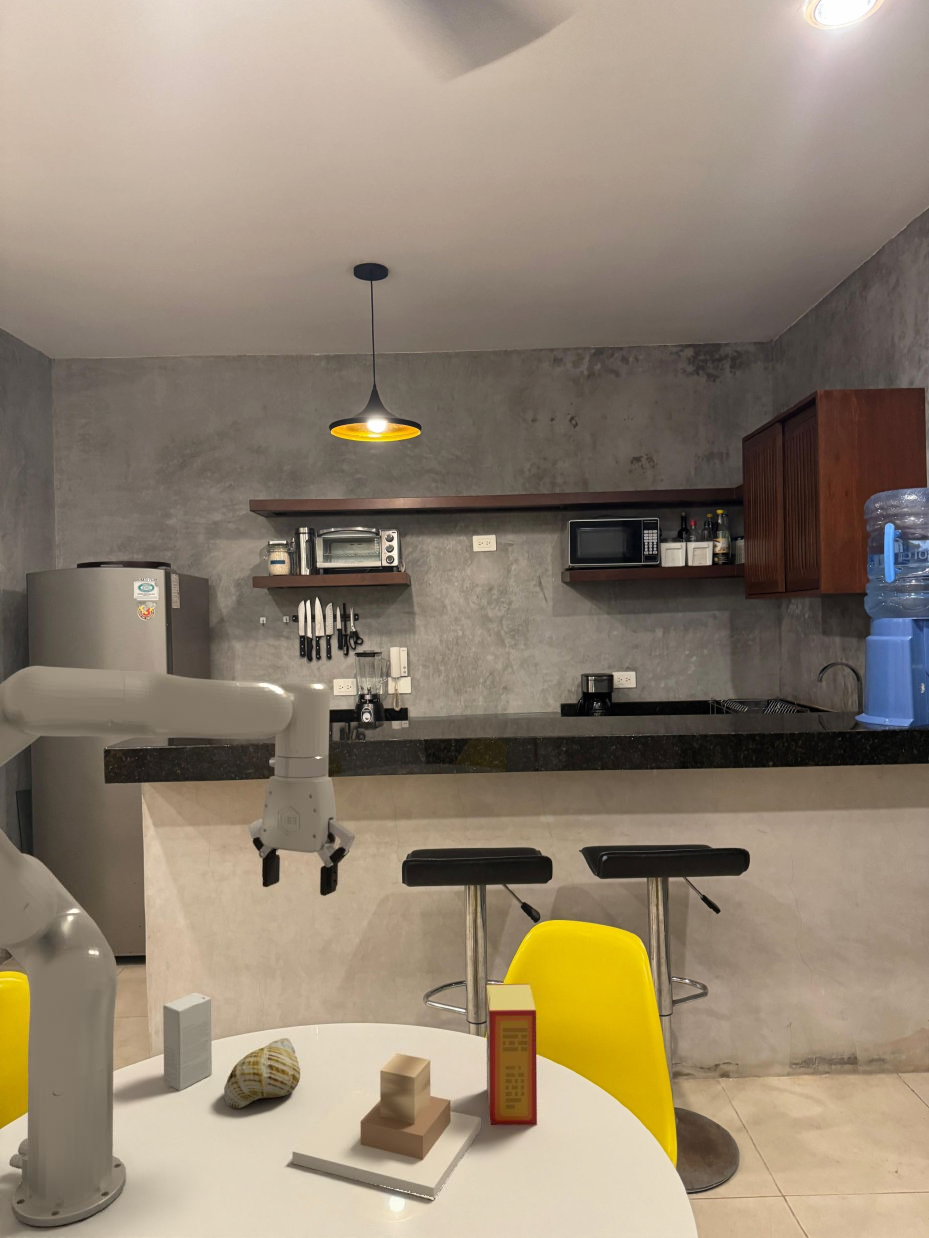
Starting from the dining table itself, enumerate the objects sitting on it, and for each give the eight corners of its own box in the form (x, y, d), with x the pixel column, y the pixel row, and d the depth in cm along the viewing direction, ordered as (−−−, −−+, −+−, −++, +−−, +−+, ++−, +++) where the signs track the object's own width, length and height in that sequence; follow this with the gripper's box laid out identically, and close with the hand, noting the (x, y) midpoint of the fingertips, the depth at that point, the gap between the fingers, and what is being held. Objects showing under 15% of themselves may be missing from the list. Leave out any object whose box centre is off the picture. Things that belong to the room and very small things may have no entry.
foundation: (292, 1163, 109) (292, 1127, 109) (353, 1100, 123) (353, 1069, 123) (433, 1200, 101) (433, 1162, 101) (481, 1129, 116) (480, 1095, 116)
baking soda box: (486, 1089, 126) (486, 981, 127) (530, 1088, 126) (529, 981, 127) (490, 1125, 117) (489, 1008, 117) (536, 1124, 117) (536, 1008, 117)
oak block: (380, 1116, 111) (380, 1070, 111) (397, 1097, 116) (397, 1053, 116) (414, 1124, 109) (414, 1077, 109) (430, 1104, 114) (430, 1059, 114)
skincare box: (195, 1067, 133) (195, 990, 134) (212, 1075, 131) (212, 997, 131) (161, 1083, 128) (162, 1004, 129) (178, 1092, 126) (179, 1011, 126)
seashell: (207, 1103, 122) (227, 1027, 126) (248, 1105, 129) (265, 1034, 134) (263, 1116, 117) (281, 1037, 122) (302, 1118, 125) (318, 1043, 129)
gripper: (235, 766, 120) (232, 888, 119) (339, 775, 113) (337, 903, 112) (267, 761, 127) (265, 875, 126) (367, 768, 120) (365, 889, 119)
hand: (299, 888), depth 119 cm, fingers open, 9 cm apart
